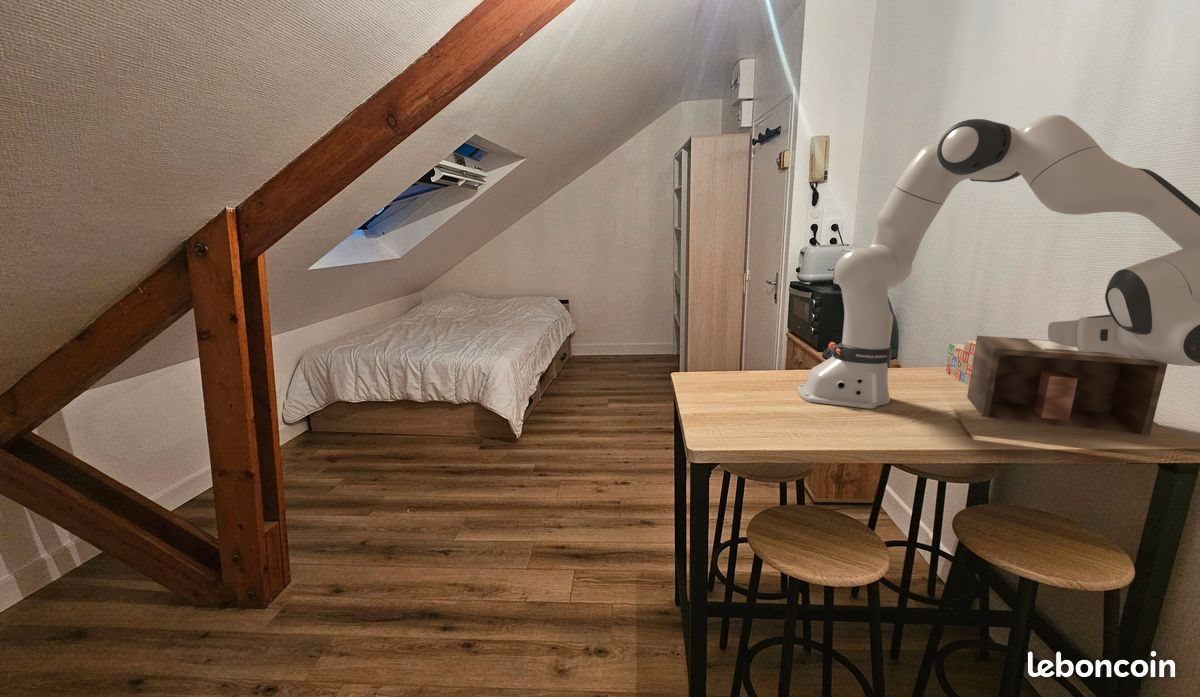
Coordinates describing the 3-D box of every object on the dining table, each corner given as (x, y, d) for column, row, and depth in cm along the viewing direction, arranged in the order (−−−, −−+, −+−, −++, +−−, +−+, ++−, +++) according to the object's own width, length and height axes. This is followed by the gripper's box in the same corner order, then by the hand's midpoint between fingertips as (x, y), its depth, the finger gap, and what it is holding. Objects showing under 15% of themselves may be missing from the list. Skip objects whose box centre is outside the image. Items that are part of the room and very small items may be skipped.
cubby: (981, 420, 122) (994, 347, 118) (966, 400, 136) (977, 334, 132) (1148, 439, 111) (1168, 359, 107) (1113, 416, 124) (1130, 344, 120)
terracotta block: (1041, 417, 121) (1049, 376, 118) (1033, 410, 125) (1041, 370, 123) (1068, 420, 119) (1077, 378, 117) (1060, 413, 123) (1068, 372, 121)
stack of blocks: (944, 372, 162) (950, 333, 159) (967, 373, 161) (973, 334, 158) (979, 393, 142) (986, 349, 139) (1005, 395, 141) (1013, 350, 138)
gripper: (1213, 313, 92) (1155, 309, 105) (1073, 318, 98) (1034, 314, 111) (1211, 349, 93) (1153, 340, 106) (1071, 352, 98) (1033, 344, 112)
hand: (1091, 327), depth 109 cm, fingers open, 8 cm apart
